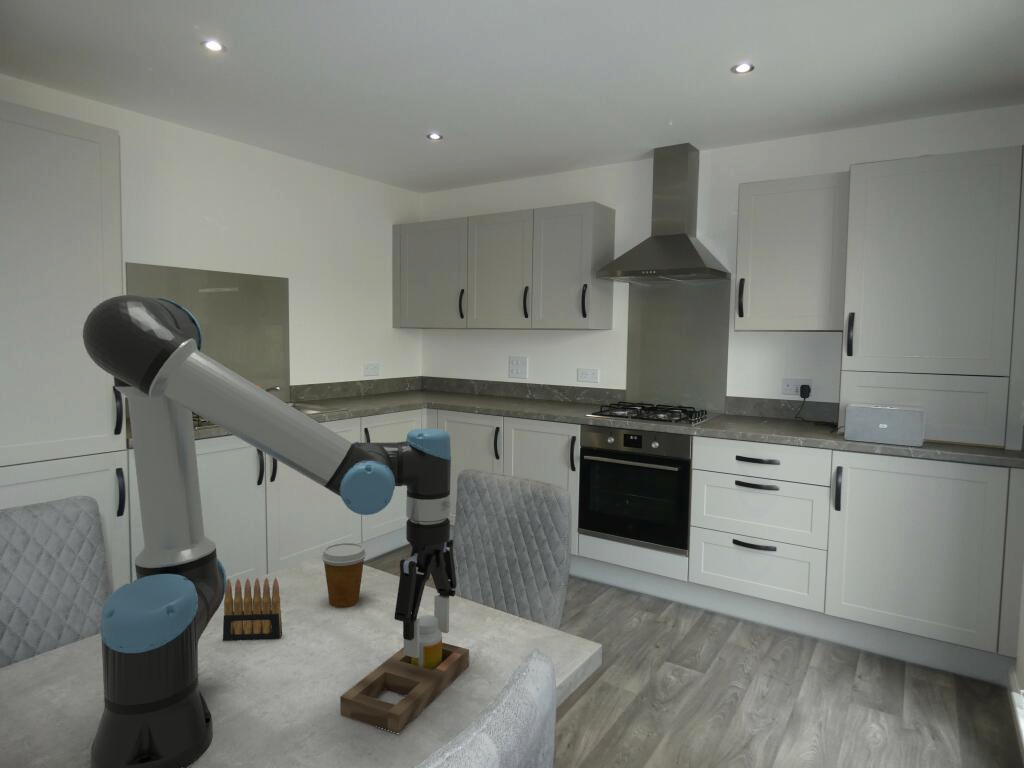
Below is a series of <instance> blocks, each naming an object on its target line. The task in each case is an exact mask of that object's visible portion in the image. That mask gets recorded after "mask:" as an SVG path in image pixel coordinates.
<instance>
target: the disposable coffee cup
mask: <svg viewBox="0 0 1024 768" xmlns="http://www.w3.org/2000/svg"><path fill="white" fill-rule="evenodd" d="M366 556H367V551H365V547H364V546H363V545H362V544H359V543H355V542H342V543H341V542H339V543H334V544H331V545H328V546H327V547H325V548H324V550H323V552H322V554H321V559H322V562H323V563H324V572H325V579H326V587H327V588H326V589H327V594H328V603H329V606H331V607H333V606H334V608H339V609H340V608H343V609H344V608H348V607H349V608H350V607H352V606H354V605H355V606H356V605H357V604H358V603H359V600H360V591H361V585H362V576H363V569H364V561H365V558H366ZM356 603H357V604H356Z"/></svg>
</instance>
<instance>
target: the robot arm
mask: <svg viewBox="0 0 1024 768" xmlns="http://www.w3.org/2000/svg"><path fill="white" fill-rule="evenodd" d="M82 339H83V345H84V348H85V350H86V353H87V355H88V356H89V358H90V359H91V360H92V361H93V363H95V365H97V366H98V367H99V368H100V369H101V370H103V371H104V372H105V373H107V374H109V375H111V376H112V377H113V382H114V383H113V384H114V388H115V390H116V391H118V392H120V393H121V394H123V395H124V396H125V397H126V398H127V403H128V410H129V411H128V413H129V420H130V428H131V429H130V430H131V438H132V446H133V447H132V449H133V456H134V464H135V465H134V466H135V474H136V475H135V476H136V483H137V493H138V501H139V510H140V518H141V520H140V521H141V527H142V537H143V544H144V546H143V548H142V550H141V551H140V552H139V553H138V555H137V556H135V558H134V567H135V575H136V576H135V577H136V579H134V580H133V582H132V583H125V584H123V585H122V586H120V587H118V588H117V589H116V590H115V591H113V592H112V593H110V595H109V596H108V597H107V599H106V600H105V602H104V603H103V607H102V610H101V620H100V626H99V632H100V636H101V637H100V638H101V653H102V654H101V655H102V674H103V676H102V677H103V678H102V679H103V699H104V704H103V705H104V708H103V711H102V715H101V718H100V721H99V723H98V726H97V727H98V728H97V731H96V734H95V738H94V740H93V741H92V744H91V748H90V749H91V750H90V767H91V768H185V767H187V766H188V765H190V764H192V763H193V762H194V761H195V760H196V759H198V758H199V757H200V756H201V755H202V754H204V752H205V751H206V750H207V749H208V747H209V746H210V744H211V741H212V739H213V736H214V735H213V733H214V731H213V725H214V724H213V715H212V714H211V711H210V709H209V705H208V704H207V702H206V699H205V698H204V695H203V693H202V690H201V688H200V684H199V647H198V646H199V640H200V638H201V637H202V635H203V633H204V632H205V630H206V628H207V627H208V625H209V624H210V622H211V620H212V618H213V617H214V615H215V614H216V612H217V611H218V610H219V608H220V607H221V604H222V602H223V600H224V599H225V590H226V582H227V573H226V569H225V567H224V566H223V564H222V562H221V561H220V559H219V558H218V555H217V554H218V553H217V547H216V543H215V542H214V541H213V540H211V539H210V538H208V537H207V536H205V528H204V527H205V526H204V518H203V509H202V499H201V490H200V489H201V488H200V479H199V469H198V460H197V458H198V457H197V451H196V450H197V449H196V440H195V431H194V429H195V428H194V420H193V413H195V414H196V415H198V416H199V417H201V418H202V419H205V420H206V421H209V422H210V423H211V424H214V425H215V426H217V427H219V428H221V429H222V430H224V431H226V432H227V433H230V434H231V435H233V436H234V437H236V438H238V439H240V440H242V441H243V442H245V443H247V444H248V445H250V446H252V447H253V448H256V450H259V451H261V452H262V453H264V454H266V455H267V456H269V457H272V458H273V459H275V460H276V461H278V462H280V463H282V464H283V465H285V466H287V467H289V468H290V469H293V470H294V471H296V472H297V473H299V474H301V475H303V476H305V477H306V478H307V479H309V480H312V481H313V482H314V483H316V484H319V485H320V486H322V487H324V488H325V489H327V490H328V491H330V492H331V493H333V494H335V495H337V496H339V497H340V498H341V500H342V502H343V504H344V505H345V506H346V507H347V509H349V510H350V511H351V512H353V513H355V514H357V515H362V516H368V515H369V516H370V515H374V514H377V513H380V512H381V511H383V510H384V509H385V508H386V507H387V506H388V505H389V504H390V503H391V500H392V499H393V495H394V492H395V491H394V490H395V489H396V488H395V487H404V486H405V487H406V499H405V501H406V507H405V511H406V512H405V513H406V514H405V516H406V518H407V520H406V525H405V526H406V527H405V528H406V529H405V532H406V535H405V536H406V541H407V543H409V544H410V546H411V553H410V555H409V556H410V557H409V558H408V559H401V560H400V561H399V573H400V574H399V583H398V588H397V595H396V601H395V602H396V604H395V610H394V618H393V619H394V620H395V621H399V622H402V633H403V634H402V638H403V647H404V655H407V656H410V657H414V658H418V657H419V645H420V619H417V618H418V614H419V610H420V606H421V602H422V598H423V595H424V590H425V586H426V582H427V581H428V580H429V579H430V576H431V578H432V581H433V583H434V586H435V589H436V592H437V594H435V595H434V597H433V598H434V602H433V603H434V604H433V605H434V609H433V610H434V613H433V616H435V617H436V618H437V619H438V629H439V630H440V631H441V633H442V634H448V633H449V632H450V597H451V598H452V597H455V595H456V590H455V589H456V588H457V574H456V568H455V561H454V560H455V559H454V540H453V539H450V535H451V519H449V517H450V514H451V512H450V510H451V506H452V504H451V478H452V477H451V476H452V475H451V472H452V468H451V467H452V452H451V451H452V449H451V436H450V434H449V432H447V431H446V430H444V429H440V428H439V429H438V428H426V427H425V428H415V429H411V430H409V431H408V432H407V434H406V439H405V441H404V440H403V441H397V442H359V441H354V442H352V441H351V440H349V439H346V438H345V437H343V436H342V435H340V434H338V433H337V432H335V431H333V430H331V429H330V428H328V427H326V426H324V425H323V424H322V423H320V422H318V421H316V420H315V419H313V418H311V417H310V416H308V415H306V414H305V413H303V412H301V411H300V410H298V409H297V408H295V407H293V406H292V405H289V404H288V403H286V402H285V401H283V400H281V399H280V398H278V397H276V396H275V395H273V394H271V393H270V392H269V391H267V390H265V389H263V388H262V387H260V386H258V385H256V384H255V383H253V382H251V381H250V380H248V379H246V378H245V377H243V376H241V375H240V374H238V373H236V372H235V371H233V370H231V369H230V368H228V367H226V366H224V365H223V364H221V363H220V362H218V361H216V360H215V359H213V358H212V357H210V356H208V355H206V354H205V353H203V352H201V349H202V345H203V332H202V328H201V326H200V323H199V321H198V319H197V318H196V317H195V316H194V315H193V314H192V313H191V312H190V310H188V309H187V308H186V307H184V306H182V305H180V304H179V303H177V302H176V301H172V300H169V299H168V298H167V299H166V298H163V297H162V298H161V297H148V296H140V295H134V294H133V295H132V294H124V295H117V296H114V297H110V298H108V299H105V300H104V301H102V302H100V303H99V304H98V305H96V306H95V307H94V308H92V310H91V311H90V312H89V314H88V315H87V317H86V319H85V321H84V323H83V329H82Z"/></svg>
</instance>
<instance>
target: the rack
mask: <svg viewBox="0 0 1024 768" xmlns="http://www.w3.org/2000/svg"><path fill="white" fill-rule="evenodd" d="M468 666H470V649H469V648H465V647H461V646H458V645H453V644H450V643H447V642H443V641H442V663H441V664H440V665H439V666H438V667H437V668H436V669H435V670H430V669H426V668H423V667H419V666H416V665H412V664H411V657H410V656H407V655H404V646H403V647H402V648H401V649H400V650H398V651H397V652H395V653H394V654H393V655H392V656H390V657H389V658H388V659H386V660H385V661H384V662H383V663H381V664H380V665H378V666H377V667H376V668H374V670H372V671H371V672H370V673H368V674H367V675H366V676H364V677H363V678H362V679H361V680H359V681H358V682H357V683H356V684H355V685H353V686H352V687H350V688H349V689H347V690H346V691H345V692H344V693H343V694H341V695H340V696H339V697H340V698H339V701H340V703H339V705H340V707H339V711H340V712H339V713H340V716H344V717H346V718H350V719H352V720H355V721H358V722H361V723H363V724H366V725H369V724H370V726H372V725H373V726H372V727H375V726H377V727H376V728H378V727H380V728H379V729H381V728H383V729H382V730H384V729H386V730H385V731H387V730H389V731H388V732H390V731H392V732H391V733H393V732H395V733H394V734H396V733H400V732H401V731H402V730H403V729H404V728H405V727H406V726H407V725H408V724H409V723H410V722H411V723H412V722H413V721H414V720H415V719H417V717H418V716H420V714H421V713H422V712H423V711H424V710H425V709H426V708H427V707H429V705H430V704H431V703H433V702H434V700H435V699H436V698H437V697H438V696H440V694H442V693H443V691H445V690H446V688H448V686H450V685H451V683H453V681H454V680H455V679H457V678H458V677H459V676H460V675H461V674H462V673H463V672H464V671H465V670H466V669H467V667H468ZM463 670H464V671H463ZM461 672H462V673H461ZM459 674H460V675H459ZM458 675H459V676H458ZM457 676H458V677H457ZM456 677H457V678H456ZM385 690H388V691H392V692H394V693H398V694H400V695H403V694H404V695H403V698H401V699H400V700H399V701H398V702H397V703H396V704H393V703H390V702H387V701H385V700H382V699H378V698H377V696H378V695H380V694H381V693H382V692H383V691H385ZM423 709H424V710H423ZM411 723H410V724H411ZM410 724H409V725H410ZM409 725H408V726H409ZM408 726H407V727H408ZM407 727H406V728H407ZM406 728H405V729H406ZM405 729H404V730H405ZM404 730H403V731H404ZM403 731H402V732H403ZM402 732H401V733H402ZM401 733H400V734H401Z"/></svg>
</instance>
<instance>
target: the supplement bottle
mask: <svg viewBox="0 0 1024 768" xmlns="http://www.w3.org/2000/svg"><path fill="white" fill-rule="evenodd" d="M417 619H420V645H419V657H418V658H414V657H411V664H412V665H416V666H419V667H423V668H426V669H430V670H435V669H436V668H437V667H438V666H439V665H440V664H441V663H442V642H443V632H441V631H440V630H439V629H438V619H437V618H436V617H435V616H434V615H430V614H425V615H420V616H417Z"/></svg>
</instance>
